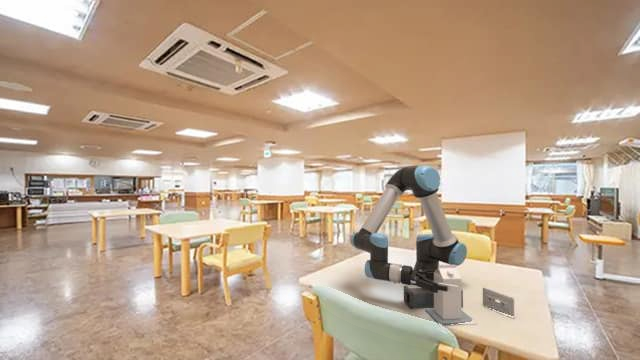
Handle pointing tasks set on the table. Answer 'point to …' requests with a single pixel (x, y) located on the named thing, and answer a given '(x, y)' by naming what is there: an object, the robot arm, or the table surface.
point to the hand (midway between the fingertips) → (459, 284)
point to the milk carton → (444, 301)
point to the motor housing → (420, 298)
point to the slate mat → (448, 321)
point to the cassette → (504, 305)
